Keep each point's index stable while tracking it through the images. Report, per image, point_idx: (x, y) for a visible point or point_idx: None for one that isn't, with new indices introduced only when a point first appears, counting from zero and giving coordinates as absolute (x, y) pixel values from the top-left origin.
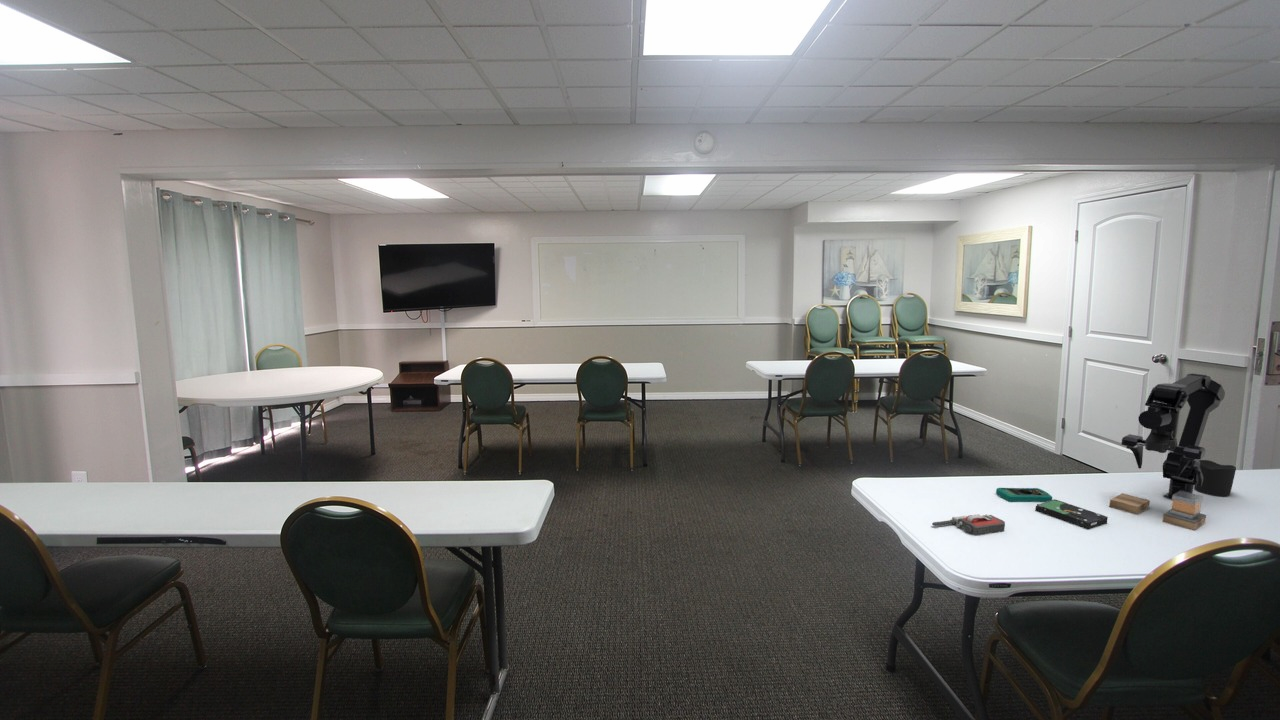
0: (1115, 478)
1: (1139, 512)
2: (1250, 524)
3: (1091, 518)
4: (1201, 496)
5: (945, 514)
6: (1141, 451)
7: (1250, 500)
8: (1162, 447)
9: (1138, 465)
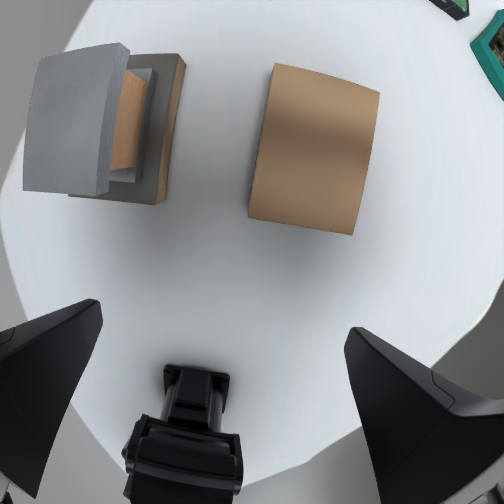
0: (344, 420)
1: (267, 96)
2: (35, 286)
3: None
4: (23, 169)
5: None
6: (403, 474)
7: (113, 438)
8: None
9: (374, 336)
